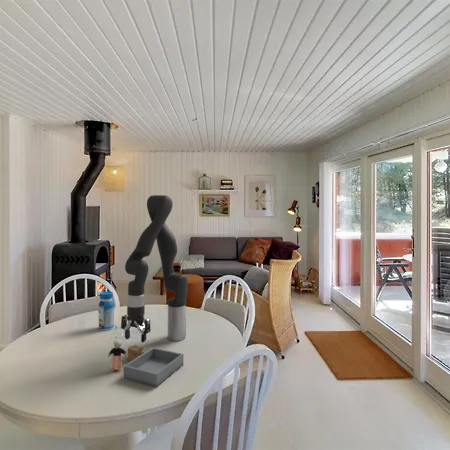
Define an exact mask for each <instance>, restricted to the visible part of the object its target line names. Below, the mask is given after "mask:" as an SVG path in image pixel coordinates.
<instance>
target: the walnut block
mask: <svg viewBox="0 0 450 450" xmlns="http://www.w3.org/2000/svg"><path fill="white" fill-rule="evenodd" d="M144 353H145V345H140V344H132V345H131V346H128V347H127V360H130V361H133V360H134V359H136V358H137V357H139V356H140V355H142V354H144Z"/></svg>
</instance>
